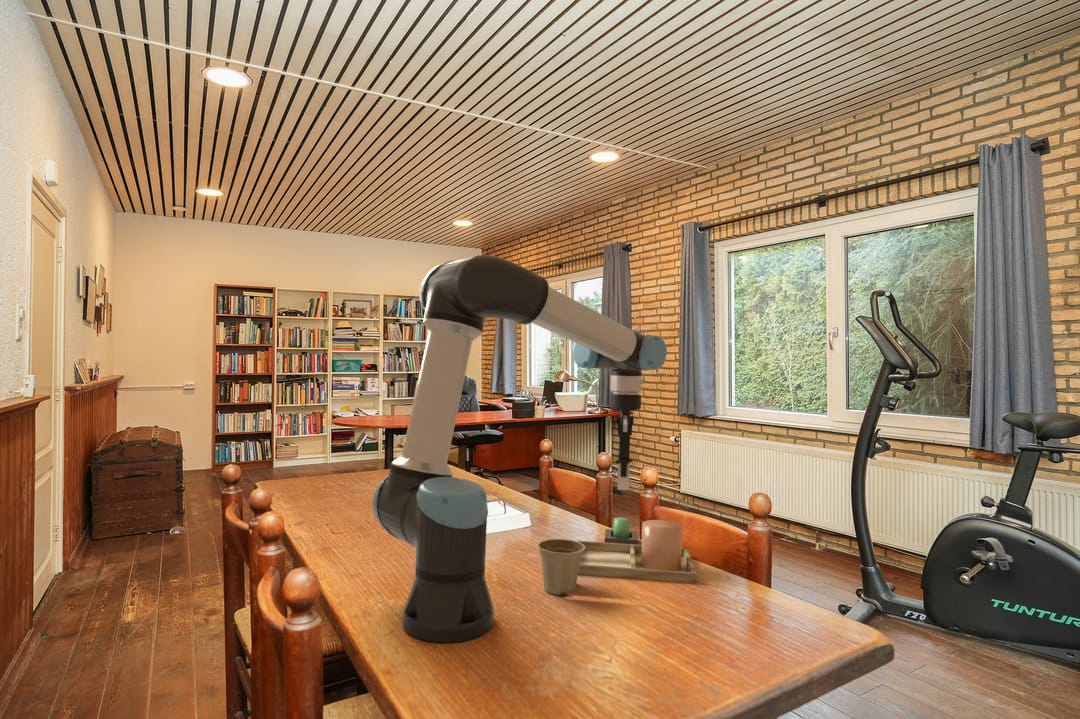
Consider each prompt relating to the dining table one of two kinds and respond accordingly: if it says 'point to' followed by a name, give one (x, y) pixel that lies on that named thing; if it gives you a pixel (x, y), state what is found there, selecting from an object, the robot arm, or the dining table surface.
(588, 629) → the dining table surface
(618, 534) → the button
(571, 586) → the flower pot
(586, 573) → the wooden serving tray
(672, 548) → the taupe pillar candle
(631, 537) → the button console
